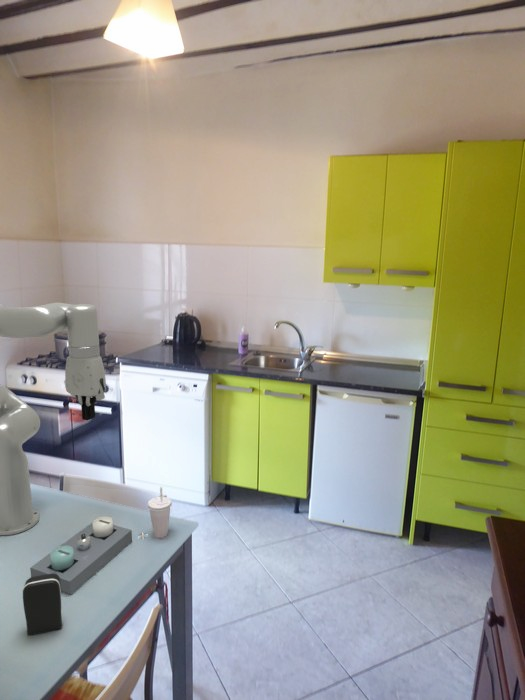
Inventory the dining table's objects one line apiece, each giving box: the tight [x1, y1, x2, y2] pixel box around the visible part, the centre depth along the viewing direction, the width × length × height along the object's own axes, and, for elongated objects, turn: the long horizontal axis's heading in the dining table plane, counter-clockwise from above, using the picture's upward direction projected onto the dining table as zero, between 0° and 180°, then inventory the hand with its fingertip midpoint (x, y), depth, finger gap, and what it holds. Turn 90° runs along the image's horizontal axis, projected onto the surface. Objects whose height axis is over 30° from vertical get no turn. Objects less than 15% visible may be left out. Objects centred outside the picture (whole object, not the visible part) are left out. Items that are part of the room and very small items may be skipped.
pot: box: [77, 534, 91, 551], centre depth 118 cm, size 3×3×4 cm
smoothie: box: [147, 486, 173, 539], centre depth 129 cm, size 6×6×14 cm
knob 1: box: [49, 545, 74, 573], centre depth 112 cm, size 5×5×6 cm
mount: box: [29, 521, 133, 596], centre depth 119 cm, size 12×22×4 cm, turn 158°
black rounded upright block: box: [22, 573, 64, 636], centre depth 97 cm, size 7×4×11 cm, turn 108°
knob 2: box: [92, 516, 114, 540], centre depth 125 cm, size 5×5×6 cm
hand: (88, 418), depth 128 cm, fingers closed
